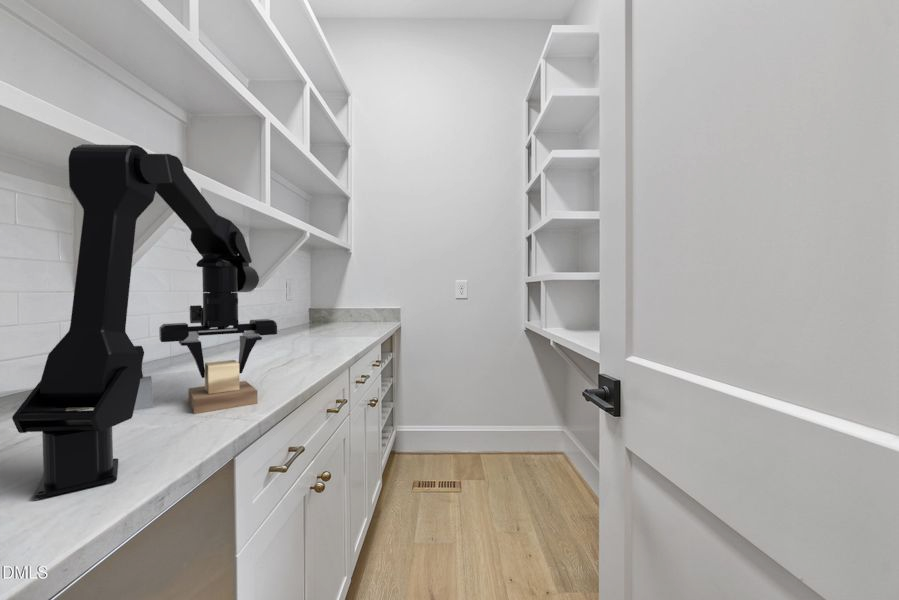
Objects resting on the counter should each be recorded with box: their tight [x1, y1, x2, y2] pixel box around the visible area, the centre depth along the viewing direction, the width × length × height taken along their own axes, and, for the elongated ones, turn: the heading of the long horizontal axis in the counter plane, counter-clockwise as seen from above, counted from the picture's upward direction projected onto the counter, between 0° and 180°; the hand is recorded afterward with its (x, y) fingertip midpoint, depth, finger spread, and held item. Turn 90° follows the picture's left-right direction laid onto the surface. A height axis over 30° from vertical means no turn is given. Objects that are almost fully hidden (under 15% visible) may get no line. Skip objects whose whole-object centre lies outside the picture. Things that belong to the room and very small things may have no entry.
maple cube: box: [204, 359, 240, 394], centre depth 75 cm, size 5×5×5 cm
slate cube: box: [134, 375, 154, 411], centre depth 73 cm, size 5×5×5 cm
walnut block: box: [187, 380, 258, 415], centre depth 76 cm, size 10×10×3 cm
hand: (222, 375), depth 75 cm, fingers open, 6 cm apart
